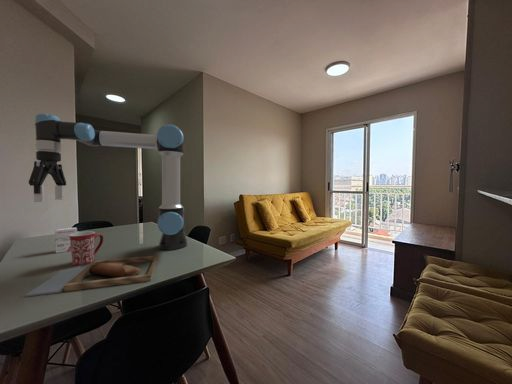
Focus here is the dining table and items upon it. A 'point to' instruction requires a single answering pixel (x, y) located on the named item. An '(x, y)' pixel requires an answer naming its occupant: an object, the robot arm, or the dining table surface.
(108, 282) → the open square wooden frame
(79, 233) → the mug
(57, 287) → the felt pad
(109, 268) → the sunglasses case
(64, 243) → the ink box
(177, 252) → the dining table surface
